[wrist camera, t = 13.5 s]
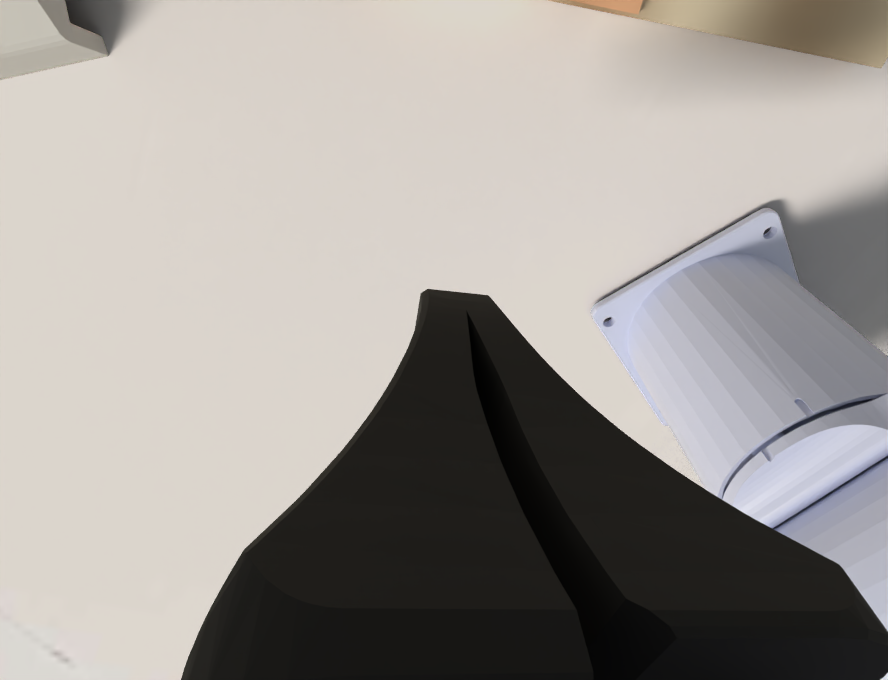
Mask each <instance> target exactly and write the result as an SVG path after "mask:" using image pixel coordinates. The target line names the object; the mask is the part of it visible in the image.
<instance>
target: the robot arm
mask: <svg viewBox="0 0 888 680" xmlns="http://www.w3.org/2000/svg"><path fill="white" fill-rule="evenodd" d="M770 227H771V229H770V230H769V231H768V232H767V233H766V234H763V233H764V232H765V230H766V229H768V228H770ZM591 316H592V318H593V320H594V321H595V323H596V324H597V326H598V327H599V329H600V330H601V332H602V333H603V335H604V337H605V338H606V340H607V341H608V343H609V344H610V346H611V347H612V349H613V350H614V352H615V353H616V355H617V356H618V358H619V359H620V361H621V362H622V364H623V365H624V367H625V369H626V370H627V372H628V373H629V375H630V376H631V378H632V379H633V381H634V382H635V384H636V385H637V387H638V388H639V390H640V391H641V393H642V394H643V396H644V398H645V399H646V401H647V402H648V404H649V405H650V407H651V408H652V410H653V411H654V413H655V414H656V416H657V417H658V419H659V420H660V422H661V423H662V424H663V425H665V426H669V428H670V430H671V431H672V433H673V435H674V437H675V438H676V440H677V442H678V444H679V445H680V447H681V449H682V451H683V452H684V454H685V456H686V458H687V459H688V461H689V463H690V465H691V466H692V468H693V470H694V472H695V473H696V475H697V477H698V479H699V480H700V482H701V484H702V486H703V487H704V488H702V487H701V486H699V485H697V484H696V483H694V482H693V481H691V480H690V479H688V478H687V477H685V476H684V475H682V474H681V473H679V472H678V471H676V470H675V469H673V468H672V467H670V466H669V465H667V464H666V463H665V462H663V461H662V460H660V459H659V458H658V457H656V456H655V455H653V454H652V453H651V452H649V451H648V450H646V449H645V448H644V447H642V446H641V445H639V444H638V443H637V442H635V441H634V440H633V439H631V438H630V437H629V436H628V435H626V434H625V433H624V432H622V431H621V430H620V429H619V428H617V427H616V426H615V425H614V424H613V423H611V422H610V421H609V420H608V419H607V418H605V417H604V416H603V415H602V414H601V413H599V412H598V411H597V410H596V409H595V408H593V407H592V406H591V405H590V404H589V403H588V402H587V401H586V400H584V399H583V398H582V397H581V396H580V395H579V394H578V393H577V392H576V391H575V390H574V389H573V388H572V387H571V386H570V385H569V384H568V383H567V382H566V381H565V380H563V379H562V378H561V377H560V376H559V375H558V374H557V373H556V372H555V371H554V370H553V369H552V367H551V366H550V365H549V364H548V363H547V362H546V361H545V360H544V359H543V358H542V357H541V356H540V355H539V354H538V353H537V351H536V350H535V349H534V348H533V347H532V346H531V345H530V344H529V343H528V341H527V340H526V339H525V338H524V337H523V336H522V334H521V333H520V332H519V331H518V330H517V329H516V327H515V326H514V325H513V324H512V323H511V321H510V320H509V319H508V318H507V317H506V316H505V314H504V313H503V312H502V311H501V310H500V308H499V307H498V306H497V305H496V304H495V302H494V301H493V300H492V299H491V298H490V297H489V296H488V295H480V294H470V293H461V292H451V291H442V290H433V289H427V290H425V291H424V292H422V293H421V296H420V302H419V308H418V314H417V320H416V326H415V331H414V334H413V337H412V339H411V342H410V344H409V347H408V349H407V351H406V353H405V355H404V357H403V359H402V361H401V363H400V365H399V367H398V369H397V371H396V373H395V375H394V377H393V378H392V380H391V382H390V383H389V385H388V387H387V389H386V390H385V392H384V393H383V395H382V397H381V398H380V400H379V401H378V403H377V404H376V406H375V407H374V409H373V410H372V412H371V413H370V414H369V416H368V417H367V419H366V420H365V421H364V423H363V424H362V425H361V427H360V428H359V429H358V431H357V432H356V433H355V435H354V436H353V437H352V439H351V440H350V441H349V442H348V444H347V445H346V446H345V447H344V449H343V450H342V451H341V452H340V453H339V454H338V456H337V457H336V458H335V459H334V460H333V461H332V462H331V463H330V464H329V466H328V467H327V468H326V469H325V470H324V471H323V472H322V473H321V474H320V476H319V477H318V478H317V479H316V480H315V481H314V482H313V483H312V484H311V485H310V487H309V488H308V489H307V490H306V491H305V492H304V493H303V494H302V495H301V496H300V497H299V498H298V499H297V500H296V501H295V502H294V503H293V504H292V505H291V506H290V507H289V508H288V509H287V510H286V511H285V512H284V513H282V514H281V515H280V516H279V517H278V518H277V519H276V520H275V521H274V522H273V523H272V524H271V525H270V526H269V527H268V528H267V529H266V530H264V531H263V532H262V533H261V534H260V535H259V536H258V537H257V538H256V539H255V540H254V541H253V542H252V543H251V544H250V545H249V546H247V547H246V548H245V549H244V551H243V552H242V554H241V556H240V557H239V559H238V561H237V562H236V564H235V566H234V567H233V569H232V571H231V572H230V574H229V576H228V578H227V579H226V581H225V583H224V584H223V586H222V588H221V590H220V592H219V593H218V595H217V597H216V599H215V601H214V603H213V605H212V606H211V608H210V610H209V612H208V614H207V616H206V618H205V620H204V622H203V625H202V627H201V629H200V631H199V633H198V635H197V638H196V640H195V643H194V645H193V648H192V650H191V652H190V655H189V657H188V660H187V663H186V665H185V668H184V672H183V675H182V678H181V680H888V356H887V355H886V354H884V353H883V352H882V351H881V350H880V349H878V348H877V347H876V346H875V345H873V344H872V343H871V342H870V341H869V340H867V339H866V338H865V337H864V336H862V335H861V334H860V333H859V332H858V331H856V330H855V329H854V328H853V327H851V326H850V325H849V324H848V323H847V322H845V321H844V320H843V319H842V318H840V317H839V316H838V315H837V314H836V313H834V312H833V311H832V310H831V309H829V308H828V307H827V306H826V305H825V304H823V303H822V302H821V301H820V300H818V299H817V298H816V297H815V296H814V295H812V294H811V293H810V292H809V291H807V290H806V289H805V288H804V287H803V286H801V285H800V283H799V279H798V276H797V273H796V270H795V266H794V263H793V260H792V256H791V253H790V250H789V246H788V243H787V240H786V236H785V233H784V230H783V226H782V223H781V220H780V216H779V214H778V213H777V212H776V211H774V210H773V209H770V208H763V209H761V210H758V211H757V212H755V213H753V214H751V215H750V216H748V217H746V218H744V219H743V220H741V221H739V222H737V223H736V224H734V225H732V226H730V227H729V228H727V229H725V230H723V231H722V232H720V233H718V234H716V235H715V236H713V237H711V238H710V239H708V240H706V241H704V242H703V243H701V244H699V245H697V246H696V247H694V248H692V249H690V250H689V251H687V252H685V253H683V254H682V255H680V256H678V257H676V258H675V259H673V260H671V261H669V262H668V263H666V264H664V265H662V266H661V267H659V268H657V269H655V270H654V271H652V272H650V273H648V274H647V275H645V276H643V277H641V278H640V279H638V280H636V281H634V282H633V283H631V284H629V285H627V286H626V287H624V288H622V289H620V290H619V291H617V292H615V293H613V294H612V295H610V296H608V297H606V298H605V299H603V300H601V301H599V302H598V303H596V304H595V305H594V306H593V307H592V309H591ZM609 317H612V318H611V319H610V320H609V321H607V322H604V320H605V319H606V318H609Z"/></svg>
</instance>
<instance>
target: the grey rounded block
mask: <svg viewBox="0 0 888 680" xmlns="http://www.w3.org/2000/svg"><path fill="white" fill-rule="evenodd" d="M106 56H109V55H108V52H107V49H106V47H105V44H104V41H103V38H102V36H100V35H98V34H95V33H93V32H91V31H88V30H86V29H84V28H81V27H79V26H76V25H74V24H72V23H70V21H69V16H68V12H67V7H66V2H65V0H0V80H3V79H7V78H12V77H16V76H21V75H25V74H30V73H34V72H38V71H43V70H47V69H52V68H56V67H61V66H65V65H70V64H74V63H79V62H83V61H88V60H92V59H97V58H101V57H106Z"/></svg>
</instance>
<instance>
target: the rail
mask: <svg viewBox="0 0 888 680" xmlns="http://www.w3.org/2000/svg"><path fill="white" fill-rule="evenodd" d="M549 1H554V2H559V3H564V4H569V5H574V6H578V7H583V8H588V9H593V10H598V11H603V12H608V13H613V14H617V15H622V16H627V17H632V18H637V19H642V20H647V21H652V22H657V23H661V24H666V25H671V26H676V27H681V28H686V29H691V30H696V31H701V32H705V33H710V34H715V35H720V36H725V37H730V38H735V39H740V40H745V41H749V42H754V43H759V44H764V45H769V46H774V47H779V48H784V49H788V50H793V51H798V52H803V53H808V54H813V55H818V56H823V57H828V58H832V59H837V60H842V61H847V62H852V63H857V64H862V65H867V66H872V67H876V68H882V66H883V64H884V63H885V61H886V59H887V58H888V0H549Z"/></svg>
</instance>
